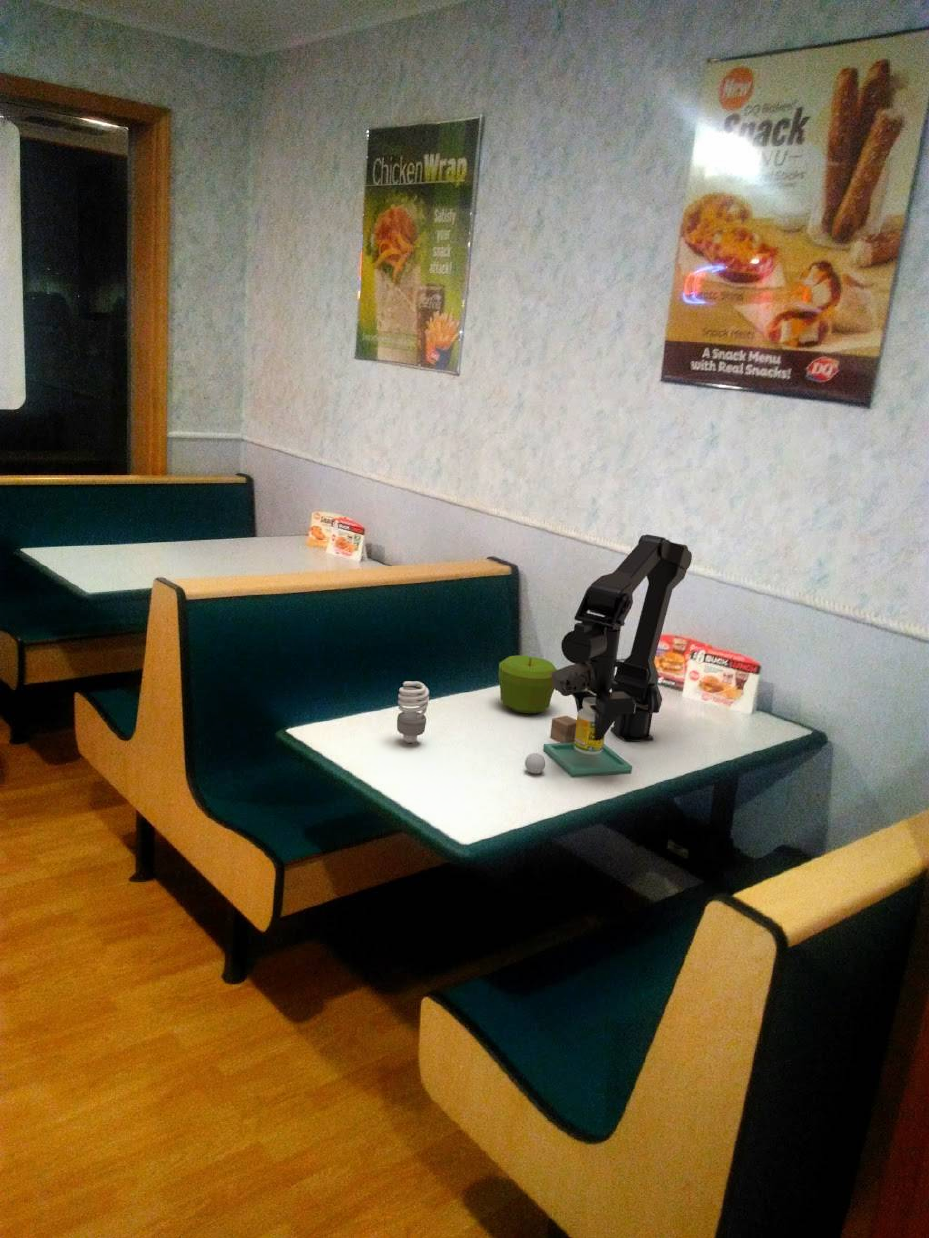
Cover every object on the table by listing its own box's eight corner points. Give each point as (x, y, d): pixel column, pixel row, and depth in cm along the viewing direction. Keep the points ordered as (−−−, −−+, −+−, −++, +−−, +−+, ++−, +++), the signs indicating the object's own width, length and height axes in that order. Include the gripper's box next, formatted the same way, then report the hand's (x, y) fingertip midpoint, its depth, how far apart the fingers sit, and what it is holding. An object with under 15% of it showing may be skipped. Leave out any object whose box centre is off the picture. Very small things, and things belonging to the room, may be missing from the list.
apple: (483, 702, 205) (488, 651, 202) (527, 695, 212) (533, 646, 209) (520, 722, 195) (527, 669, 192) (565, 714, 202) (572, 663, 200)
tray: (599, 747, 186) (600, 740, 186) (631, 773, 175) (632, 766, 175) (543, 750, 182) (543, 743, 181) (572, 777, 171) (572, 770, 170)
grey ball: (538, 767, 174) (541, 749, 173) (547, 776, 170) (549, 757, 170) (520, 769, 172) (522, 750, 171) (529, 777, 169) (531, 758, 168)
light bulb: (430, 742, 181) (435, 681, 178) (416, 751, 176) (421, 688, 173) (403, 735, 183) (408, 674, 180) (388, 744, 178) (393, 682, 175)
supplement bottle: (589, 742, 181) (596, 694, 179) (608, 753, 177) (615, 703, 175) (567, 746, 178) (573, 697, 176) (586, 757, 174) (592, 706, 172)
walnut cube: (564, 734, 191) (566, 715, 190) (579, 741, 189) (581, 721, 188) (549, 738, 189) (552, 718, 188) (564, 745, 186) (567, 725, 185)
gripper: (538, 638, 179) (529, 717, 183) (585, 670, 162) (574, 757, 166) (591, 637, 183) (581, 715, 187) (643, 668, 166) (630, 753, 170)
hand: (590, 734), depth 177 cm, fingers closed on supplement bottle, 5 cm apart
